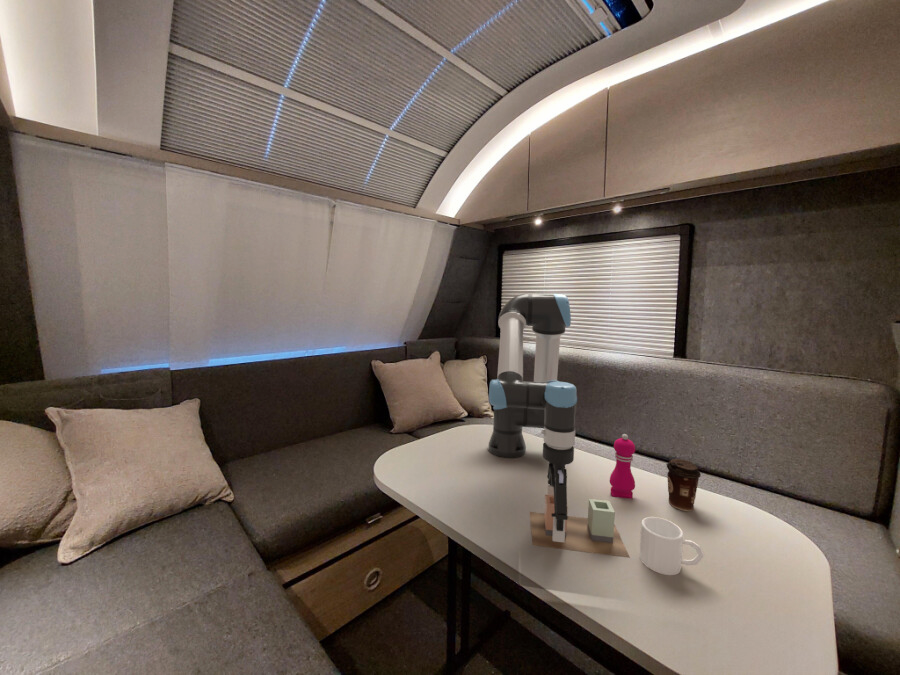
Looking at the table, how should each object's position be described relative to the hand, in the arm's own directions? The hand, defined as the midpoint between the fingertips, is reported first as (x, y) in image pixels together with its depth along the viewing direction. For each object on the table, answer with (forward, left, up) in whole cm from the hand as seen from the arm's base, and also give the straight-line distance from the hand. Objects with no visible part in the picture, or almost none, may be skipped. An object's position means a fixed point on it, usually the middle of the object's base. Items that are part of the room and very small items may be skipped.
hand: (555, 523), depth 91 cm
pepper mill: (-24, +23, -3) cm, 33 cm away
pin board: (0, +5, -3) cm, 6 cm away
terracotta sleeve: (0, 0, -2) cm, 2 cm away
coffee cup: (-22, +39, -3) cm, 45 cm away
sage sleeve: (0, +11, -2) cm, 11 cm away
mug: (+8, +24, -3) cm, 26 cm away
